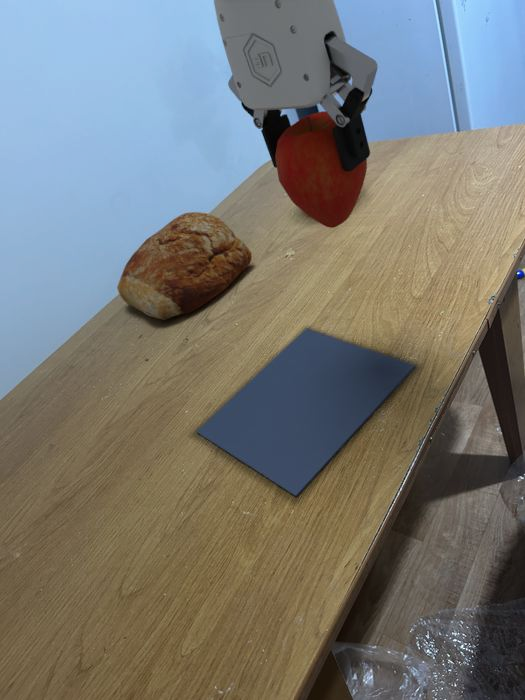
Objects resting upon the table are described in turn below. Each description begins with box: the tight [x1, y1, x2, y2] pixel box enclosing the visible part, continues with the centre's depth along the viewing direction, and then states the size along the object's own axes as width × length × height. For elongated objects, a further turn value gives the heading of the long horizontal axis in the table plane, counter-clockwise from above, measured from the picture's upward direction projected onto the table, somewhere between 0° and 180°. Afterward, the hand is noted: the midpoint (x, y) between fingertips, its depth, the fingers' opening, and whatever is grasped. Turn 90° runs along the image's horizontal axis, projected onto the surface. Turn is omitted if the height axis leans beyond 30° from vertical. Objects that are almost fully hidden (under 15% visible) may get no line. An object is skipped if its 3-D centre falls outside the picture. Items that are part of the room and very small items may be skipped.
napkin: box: [196, 327, 416, 498], centre depth 66 cm, size 17×20×1 cm
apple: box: [275, 110, 368, 229], centre depth 55 cm, size 9×8×11 cm
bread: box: [116, 211, 253, 321], centre depth 94 cm, size 20×18×10 cm
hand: (320, 161), depth 54 cm, fingers closed on apple, 8 cm apart
